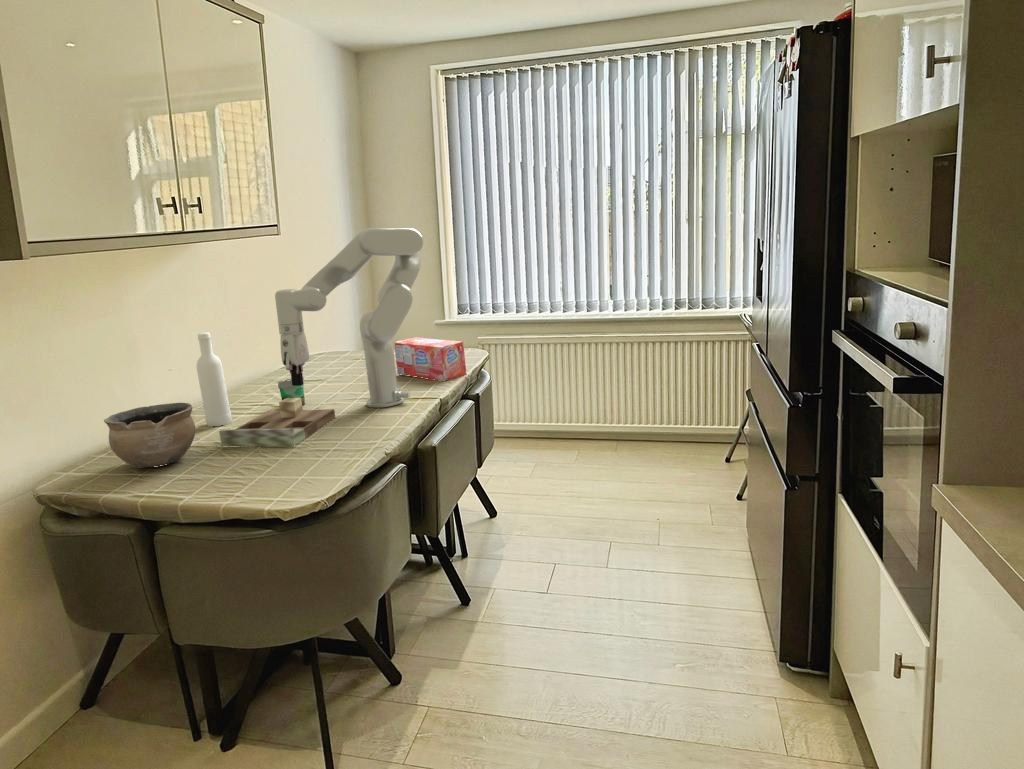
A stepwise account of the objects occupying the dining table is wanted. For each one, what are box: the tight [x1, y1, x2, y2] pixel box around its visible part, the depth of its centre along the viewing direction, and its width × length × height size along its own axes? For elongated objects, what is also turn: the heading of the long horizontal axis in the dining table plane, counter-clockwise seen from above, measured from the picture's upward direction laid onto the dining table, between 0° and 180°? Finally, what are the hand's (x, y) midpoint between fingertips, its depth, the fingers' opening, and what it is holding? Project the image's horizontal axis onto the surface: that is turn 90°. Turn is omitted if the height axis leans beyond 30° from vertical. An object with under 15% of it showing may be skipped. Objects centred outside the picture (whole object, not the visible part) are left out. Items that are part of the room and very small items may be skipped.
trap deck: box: [219, 408, 336, 448], centre depth 230 cm, size 23×28×5 cm
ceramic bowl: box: [103, 402, 196, 468], centre depth 208 cm, size 22×22×15 cm
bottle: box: [196, 331, 233, 427], centre depth 243 cm, size 8×8×30 cm
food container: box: [277, 376, 306, 407], centre depth 261 cm, size 12×6×10 cm, turn 168°
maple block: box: [278, 398, 304, 418], centre depth 237 cm, size 5×5×5 cm
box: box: [394, 336, 467, 382], centre depth 292 cm, size 27×13×14 cm, turn 49°
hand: (297, 385), depth 243 cm, fingers closed
